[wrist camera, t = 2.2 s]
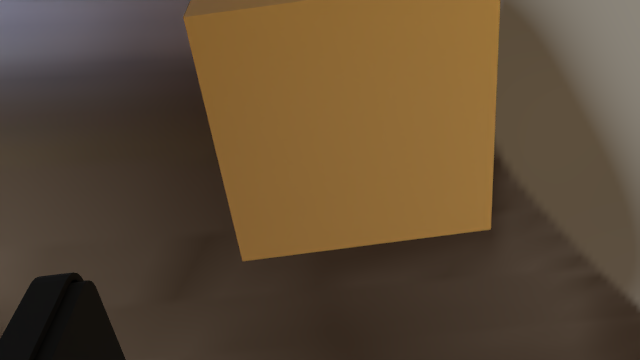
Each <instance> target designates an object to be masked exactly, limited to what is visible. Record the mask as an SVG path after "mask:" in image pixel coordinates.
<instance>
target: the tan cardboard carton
mask: <svg viewBox="0 0 640 360" xmlns="http://www.w3.org/2000/svg"><path fill="white" fill-rule="evenodd" d="M183 19H184V23H185V27H186V31H187V35H188V39H189V43H190V47H191V51H192V56H193V60H194V64H195V68H196V72H197V76H198V80H199V84H200V88H201V93H202V97H203V101H204V105H205V109H206V113H207V117H208V121H209V125H210V130H211V134H212V138H213V142H214V146H215V150H216V154H217V158H218V162H219V167H220V171H221V175H222V179H223V183H224V187H225V191H226V195H227V200H228V204H229V208H230V212H231V216H232V220H233V224H234V228H235V232H236V237H237V241H238V245H239V249H240V253H241V257H242V261H250V260H257V259H265V258H273V257H281V256H288V255H296V254H304V253H312V252H320V251H327V250H335V249H343V248H351V247H358V246H366V245H374V244H382V243H390V242H397V241H405V240H413V239H421V238H428V237H436V236H444V235H452V234H460V233H467V232H475V231H483V230H491V214H492V190H493V166H494V141H495V117H496V115H495V114H496V93H497V68H498V67H497V66H498V44H499V20H500V0H190V3H189V5H188V7H187V10H186V12H185V14H184V16H183Z"/></svg>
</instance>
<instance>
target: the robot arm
mask: <svg viewBox="0 0 640 360" xmlns="http://www.w3.org/2000/svg"><path fill="white" fill-rule="evenodd" d="M0 360H126V359H125V357H124V354H123V352H122V350H121V347H120V345H119V342H118V340H117V337H116V335H115V332H114V330H113V328H112V325H111V323H110V320H109V318H108V315H107V313H106V311H105V308H104V306H103V303H102V301H101V298H100V296H99V293H98V291H97V289H96V286H95V285H94V283H93V282H92V281H83V279H82V277H81V276H80V275H79V274H78V273H66V274H57V275H49V276H41V277H37V278H35V279H34V280H33V281H32V283H31V284H30V286H29V288H28V289H27V291H26V293H25V295H24V297H23V299H22V300H21V302H20V304H19V306H18V308H17V309H16V311H15V313H14V315H13V317H12V319H11V320H10V322H9V324H8V326H7V328H6V330H5V331H4V333H3V335H2V337H1V339H0Z"/></svg>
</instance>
